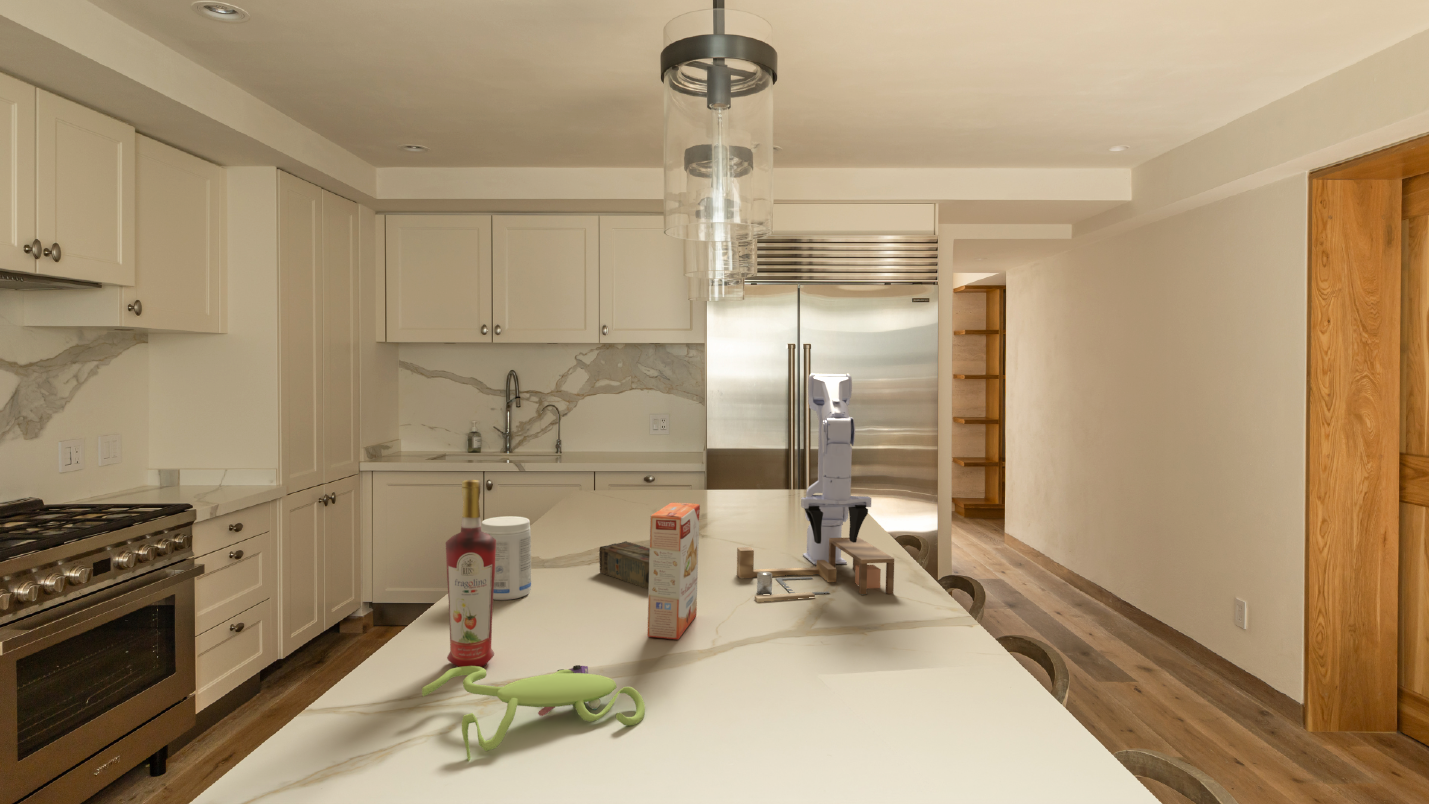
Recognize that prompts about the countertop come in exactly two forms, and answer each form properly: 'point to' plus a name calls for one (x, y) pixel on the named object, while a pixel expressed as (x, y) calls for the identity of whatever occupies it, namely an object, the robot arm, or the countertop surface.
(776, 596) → the maple bar
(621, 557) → the beverage carton
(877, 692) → the countertop surface
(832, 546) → the wooden bench
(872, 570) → the terracotta cube
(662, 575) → the cracker box
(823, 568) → the oak crook
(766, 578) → the spice tin
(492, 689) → the figurine
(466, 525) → the liquor
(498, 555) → the supplement tub
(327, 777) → the countertop surface
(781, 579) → the tape bracket
